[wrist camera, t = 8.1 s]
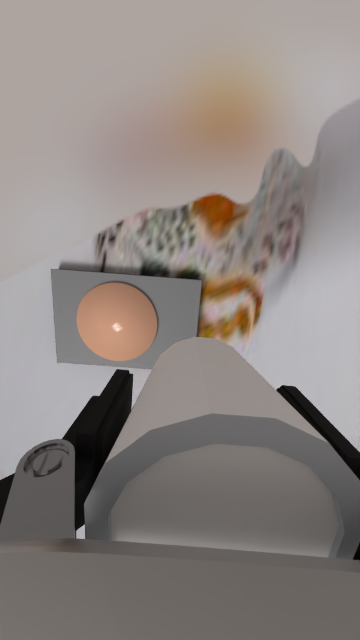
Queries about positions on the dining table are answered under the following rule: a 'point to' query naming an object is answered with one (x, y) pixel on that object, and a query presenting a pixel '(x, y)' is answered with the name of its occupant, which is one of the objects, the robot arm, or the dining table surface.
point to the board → (164, 293)
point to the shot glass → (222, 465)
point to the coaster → (117, 321)
